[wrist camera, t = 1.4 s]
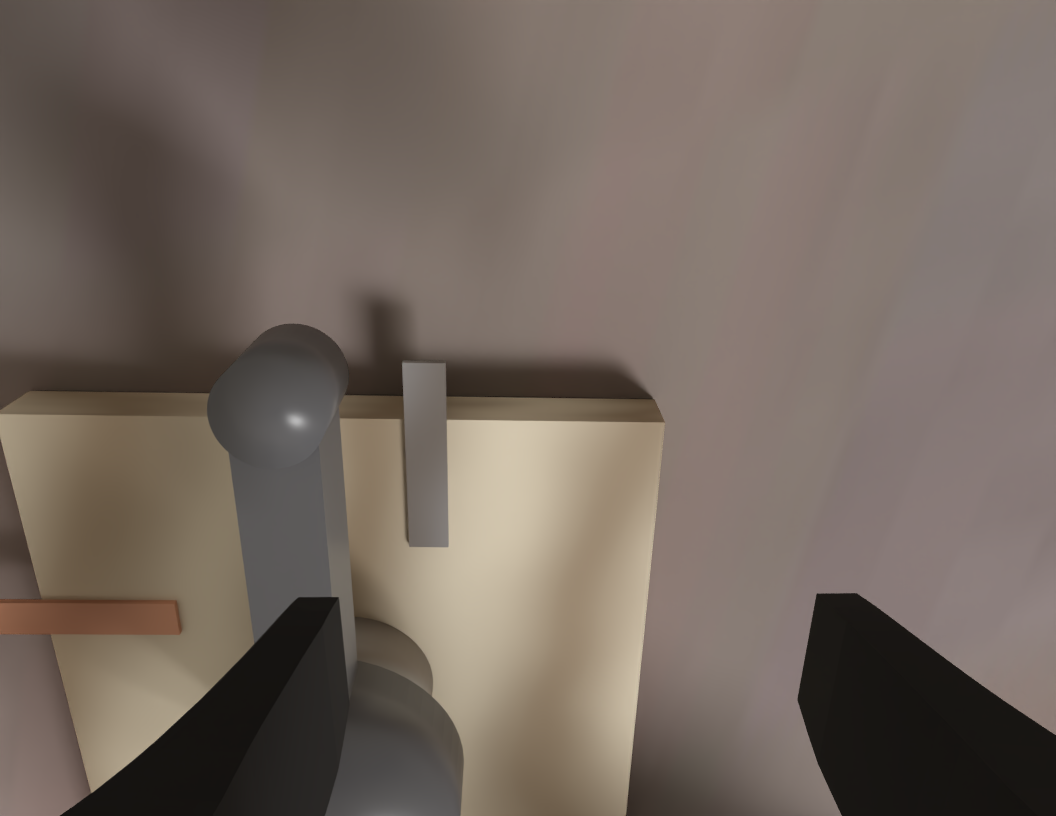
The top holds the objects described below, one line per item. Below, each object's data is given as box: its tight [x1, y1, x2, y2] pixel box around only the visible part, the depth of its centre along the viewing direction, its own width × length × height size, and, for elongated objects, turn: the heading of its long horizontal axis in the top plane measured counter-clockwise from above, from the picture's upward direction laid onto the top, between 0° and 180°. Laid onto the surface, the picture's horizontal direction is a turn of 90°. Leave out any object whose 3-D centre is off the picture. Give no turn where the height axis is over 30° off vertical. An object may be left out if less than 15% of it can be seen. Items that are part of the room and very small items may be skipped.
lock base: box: [0, 360, 665, 816], centre depth 21 cm, size 18×18×4 cm
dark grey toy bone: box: [207, 324, 464, 816], centre depth 17 cm, size 14×6×3 cm, turn 179°
